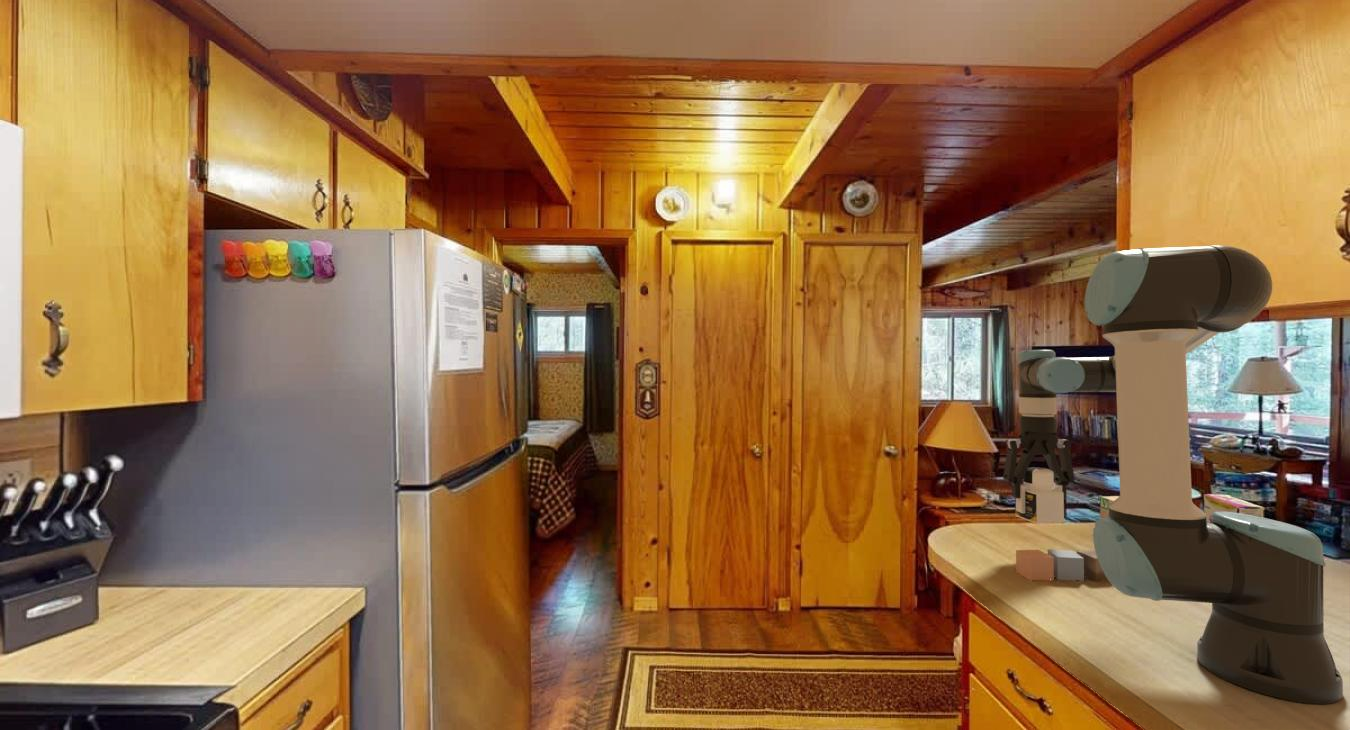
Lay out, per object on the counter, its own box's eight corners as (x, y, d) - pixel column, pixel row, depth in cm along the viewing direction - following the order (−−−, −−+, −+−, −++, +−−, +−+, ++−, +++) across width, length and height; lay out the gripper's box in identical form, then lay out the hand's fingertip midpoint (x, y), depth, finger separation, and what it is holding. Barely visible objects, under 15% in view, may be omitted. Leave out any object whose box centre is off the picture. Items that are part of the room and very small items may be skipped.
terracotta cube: (1053, 580, 123) (1053, 557, 123) (1030, 581, 123) (1030, 557, 123) (1038, 572, 128) (1038, 549, 128) (1016, 572, 128) (1016, 550, 128)
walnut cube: (1117, 580, 123) (1116, 557, 123) (1095, 582, 122) (1095, 558, 122) (1097, 572, 128) (1097, 549, 128) (1076, 573, 127) (1076, 550, 127)
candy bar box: (1202, 565, 130) (1202, 493, 130) (1228, 567, 129) (1228, 494, 129) (1238, 584, 119) (1237, 505, 119) (1267, 586, 118) (1266, 506, 118)
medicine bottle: (1014, 516, 139) (1013, 466, 139) (1041, 514, 140) (1041, 465, 140) (1036, 524, 132) (1035, 471, 132) (1064, 522, 133) (1064, 470, 133)
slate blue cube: (1084, 581, 122) (1083, 558, 122) (1057, 580, 123) (1057, 557, 123) (1072, 573, 127) (1072, 550, 127) (1047, 571, 128) (1047, 549, 128)
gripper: (1072, 413, 139) (1074, 508, 139) (985, 414, 140) (986, 508, 140) (1093, 416, 132) (1094, 516, 131) (1000, 416, 133) (1002, 516, 133)
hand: (1039, 511), depth 136 cm, fingers closed on medicine bottle, 8 cm apart
